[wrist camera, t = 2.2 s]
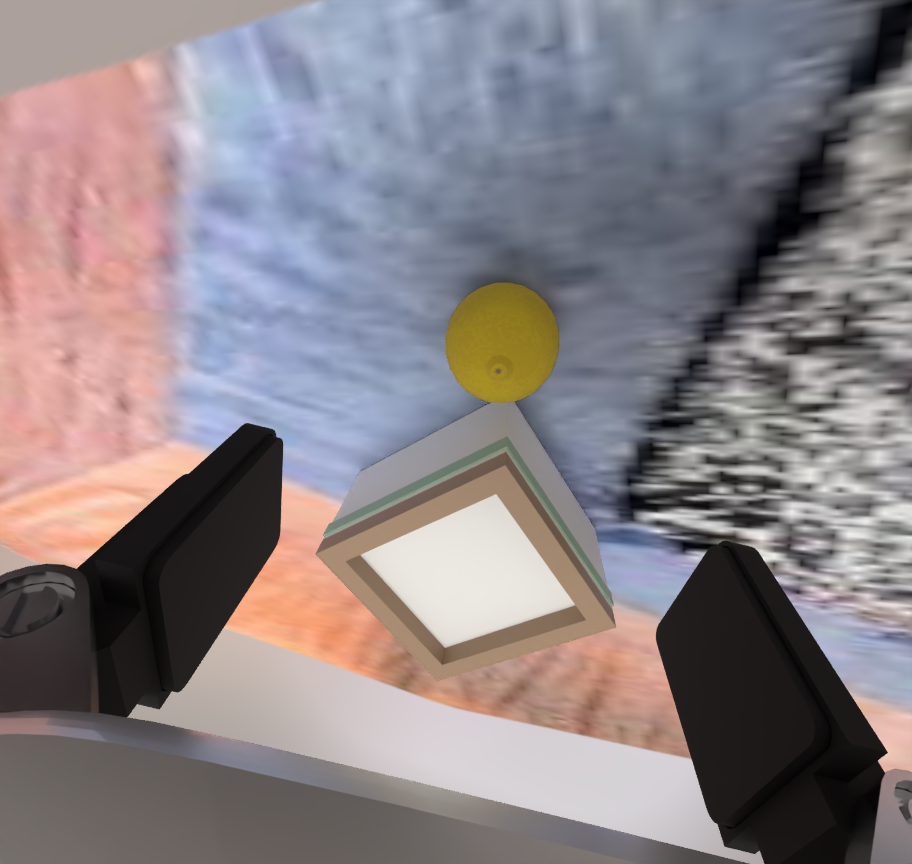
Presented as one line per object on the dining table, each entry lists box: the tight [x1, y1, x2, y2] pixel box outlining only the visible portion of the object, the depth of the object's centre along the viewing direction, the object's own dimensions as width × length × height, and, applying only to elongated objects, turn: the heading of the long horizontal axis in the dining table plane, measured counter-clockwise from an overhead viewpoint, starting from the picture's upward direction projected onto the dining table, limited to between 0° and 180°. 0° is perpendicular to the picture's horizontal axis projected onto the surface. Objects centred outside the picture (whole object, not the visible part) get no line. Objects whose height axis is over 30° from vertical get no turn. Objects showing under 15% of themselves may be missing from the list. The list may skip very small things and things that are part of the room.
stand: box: [316, 402, 616, 681], centre depth 29 cm, size 12×12×8 cm
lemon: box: [446, 282, 559, 403], centre depth 23 cm, size 6×6×8 cm
